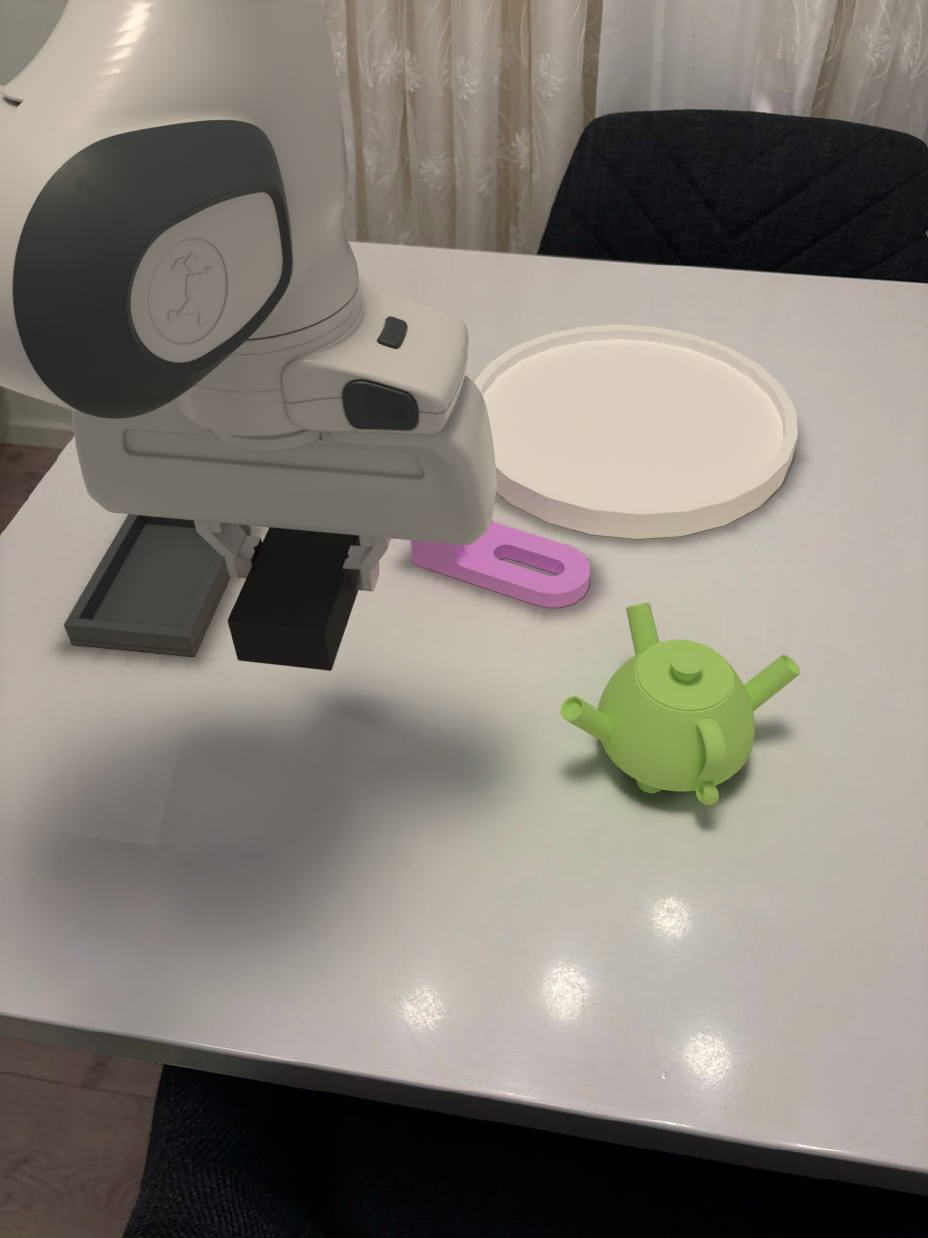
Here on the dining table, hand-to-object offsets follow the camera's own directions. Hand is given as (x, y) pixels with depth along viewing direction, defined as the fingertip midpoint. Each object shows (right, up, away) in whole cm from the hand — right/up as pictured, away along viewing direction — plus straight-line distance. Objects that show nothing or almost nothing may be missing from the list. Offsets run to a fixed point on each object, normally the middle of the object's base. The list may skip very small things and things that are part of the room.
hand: (306, 577), depth 56 cm
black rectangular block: (0, -1, +1) cm, 2 cm away
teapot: (+21, -10, +11) cm, 26 cm away
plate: (+22, +14, +35) cm, 44 cm away
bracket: (+12, +2, +23) cm, 26 cm away
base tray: (-14, 0, +22) cm, 26 cm away
